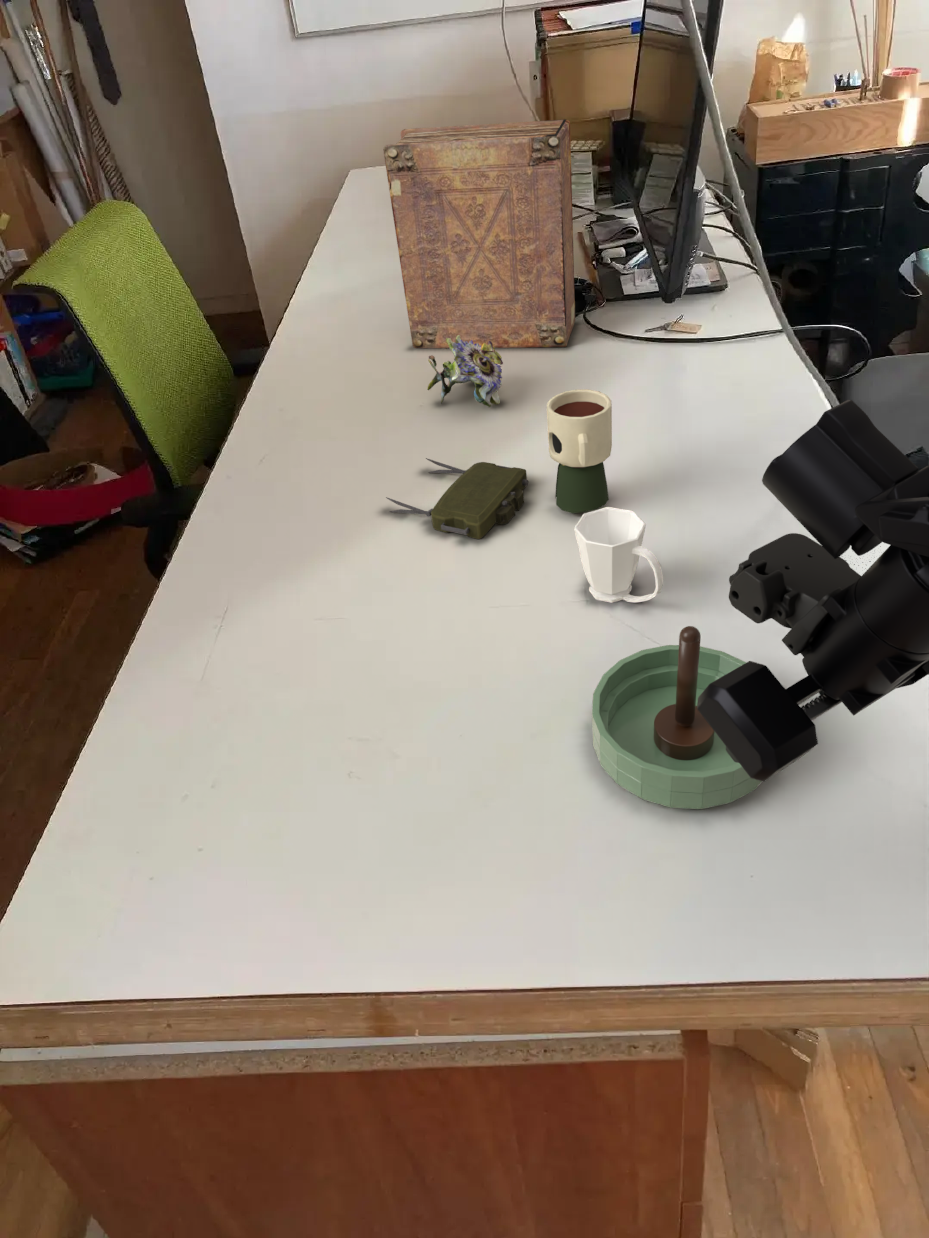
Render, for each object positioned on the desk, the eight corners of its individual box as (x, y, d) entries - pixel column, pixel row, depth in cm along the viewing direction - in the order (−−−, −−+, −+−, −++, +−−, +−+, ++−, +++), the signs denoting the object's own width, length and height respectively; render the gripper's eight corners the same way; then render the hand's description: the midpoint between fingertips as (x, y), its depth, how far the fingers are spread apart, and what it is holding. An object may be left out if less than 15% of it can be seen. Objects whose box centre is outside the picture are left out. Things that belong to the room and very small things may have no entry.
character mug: (548, 482, 114) (543, 384, 106) (606, 476, 114) (605, 378, 106) (555, 532, 106) (549, 430, 98) (618, 526, 105) (617, 424, 97)
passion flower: (496, 437, 135) (503, 397, 124) (422, 429, 135) (421, 389, 124) (502, 368, 138) (509, 322, 127) (429, 360, 138) (430, 314, 127)
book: (411, 348, 150) (381, 146, 131) (426, 325, 157) (399, 129, 137) (567, 347, 144) (559, 135, 125) (576, 323, 150) (569, 118, 131)
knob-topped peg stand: (720, 726, 80) (731, 615, 72) (704, 767, 77) (714, 656, 69) (663, 711, 82) (668, 602, 74) (645, 751, 79) (648, 641, 71)
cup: (607, 561, 101) (606, 498, 96) (681, 599, 95) (685, 533, 89) (562, 591, 97) (559, 528, 92) (636, 633, 91) (637, 567, 86)
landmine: (488, 527, 103) (375, 503, 110) (490, 546, 105) (379, 521, 112) (540, 464, 113) (434, 445, 119) (542, 483, 114) (437, 464, 121)
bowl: (792, 705, 82) (798, 667, 79) (751, 836, 72) (756, 799, 69) (626, 665, 88) (626, 629, 85) (567, 781, 78) (565, 745, 75)
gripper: (909, 453, 58) (796, 588, 71) (689, 563, 51) (608, 690, 64) (1044, 587, 54) (897, 703, 67) (826, 727, 47) (709, 827, 60)
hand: (779, 725), depth 65 cm, fingers open, 9 cm apart
